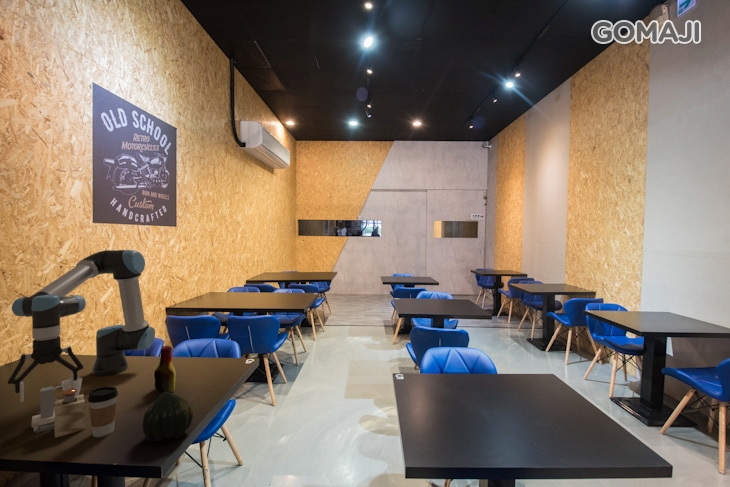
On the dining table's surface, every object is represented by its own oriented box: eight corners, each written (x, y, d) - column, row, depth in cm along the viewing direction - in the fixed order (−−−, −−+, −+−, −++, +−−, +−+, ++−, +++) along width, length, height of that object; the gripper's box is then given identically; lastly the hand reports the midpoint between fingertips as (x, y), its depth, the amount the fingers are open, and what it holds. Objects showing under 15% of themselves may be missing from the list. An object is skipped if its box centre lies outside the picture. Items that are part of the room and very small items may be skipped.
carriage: (61, 416, 131) (61, 382, 131) (61, 423, 126) (61, 388, 126) (32, 424, 126) (32, 388, 126) (31, 431, 120) (31, 395, 120)
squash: (176, 434, 109) (188, 386, 119) (127, 438, 108) (143, 389, 118) (192, 444, 119) (201, 399, 129) (147, 448, 118) (160, 403, 128)
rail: (57, 408, 138) (57, 405, 138) (58, 427, 124) (58, 423, 124) (37, 414, 134) (37, 410, 134) (35, 433, 120) (35, 429, 120)
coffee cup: (98, 426, 124) (98, 385, 124) (123, 425, 125) (123, 384, 125) (81, 440, 116) (81, 395, 116) (108, 438, 116) (108, 394, 116)
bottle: (179, 390, 155) (179, 346, 155) (165, 395, 149) (165, 350, 149) (165, 385, 161) (165, 342, 161) (151, 389, 156) (150, 345, 156)
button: (76, 405, 126) (76, 387, 126) (77, 409, 123) (77, 390, 123) (62, 409, 123) (62, 390, 123) (62, 413, 120) (62, 394, 120)
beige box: (83, 420, 128) (83, 394, 128) (84, 429, 122) (84, 401, 123) (54, 428, 123) (54, 400, 123) (54, 437, 117) (54, 408, 117)
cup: (84, 398, 147) (84, 379, 147) (53, 407, 140) (53, 387, 140) (80, 394, 152) (80, 376, 152) (50, 402, 144) (49, 383, 144)
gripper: (89, 329, 137) (90, 381, 137) (-2, 342, 120) (-1, 402, 121) (90, 333, 131) (92, 387, 132) (-5, 347, 115) (-3, 410, 115)
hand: (48, 394), depth 126 cm, fingers open, 13 cm apart
